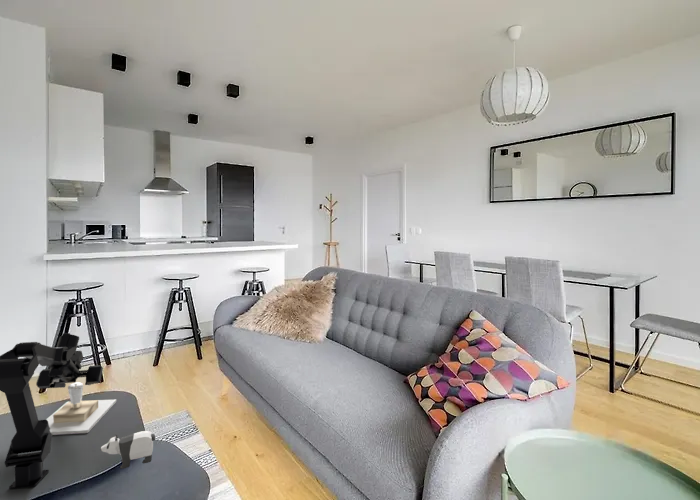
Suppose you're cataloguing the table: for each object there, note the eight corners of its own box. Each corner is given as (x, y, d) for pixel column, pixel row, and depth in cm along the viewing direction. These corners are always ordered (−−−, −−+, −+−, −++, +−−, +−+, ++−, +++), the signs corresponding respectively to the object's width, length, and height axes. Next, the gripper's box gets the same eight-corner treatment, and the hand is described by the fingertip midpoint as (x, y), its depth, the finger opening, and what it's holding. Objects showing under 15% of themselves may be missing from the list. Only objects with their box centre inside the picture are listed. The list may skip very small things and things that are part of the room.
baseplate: (87, 432, 128) (87, 430, 128) (29, 436, 125) (29, 433, 124) (116, 401, 149) (116, 399, 149) (67, 403, 146) (67, 401, 146)
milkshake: (69, 412, 133) (68, 385, 132) (68, 406, 137) (67, 380, 136) (84, 408, 136) (83, 382, 135) (83, 402, 140) (82, 377, 139)
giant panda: (155, 451, 119) (155, 423, 118) (155, 462, 114) (155, 433, 113) (102, 463, 113) (101, 434, 112) (99, 474, 108) (98, 444, 107)
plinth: (84, 421, 133) (84, 413, 133) (53, 423, 131) (53, 415, 131) (98, 407, 143) (98, 400, 142) (69, 408, 141) (69, 401, 141)
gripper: (100, 344, 134) (110, 362, 145) (39, 348, 128) (54, 366, 139) (93, 374, 127) (104, 390, 138) (28, 379, 121) (45, 396, 132)
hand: (77, 384), depth 137 cm, fingers open, 8 cm apart
